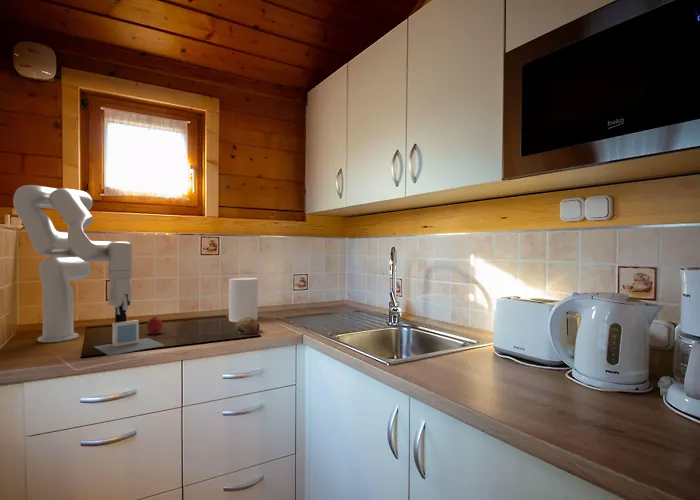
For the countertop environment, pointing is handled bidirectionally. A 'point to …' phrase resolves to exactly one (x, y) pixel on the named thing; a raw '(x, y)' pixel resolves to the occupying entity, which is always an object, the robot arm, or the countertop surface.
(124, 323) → the picture frame
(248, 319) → the bread roll
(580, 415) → the countertop surface
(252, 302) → the canister
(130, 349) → the mat
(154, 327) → the onion
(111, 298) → the robot arm
